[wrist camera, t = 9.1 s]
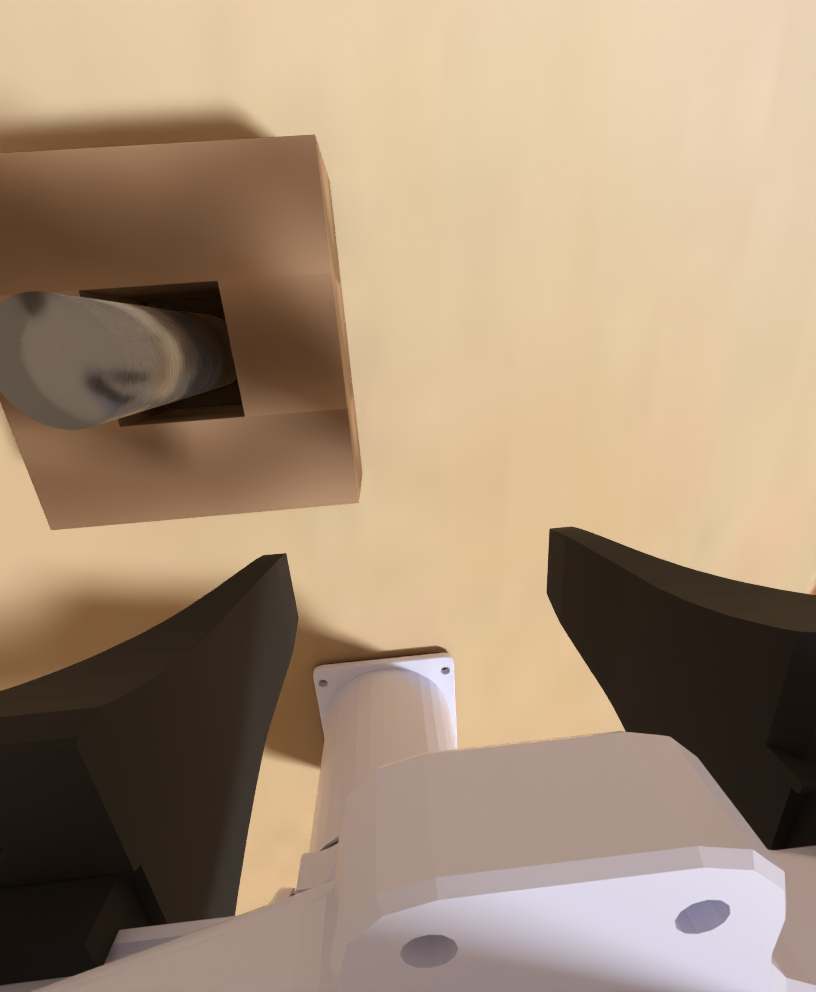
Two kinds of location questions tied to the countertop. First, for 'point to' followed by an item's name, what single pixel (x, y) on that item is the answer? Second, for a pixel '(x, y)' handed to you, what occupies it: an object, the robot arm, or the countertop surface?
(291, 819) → the countertop surface
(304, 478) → the wooden square frame
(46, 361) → the steel pin
